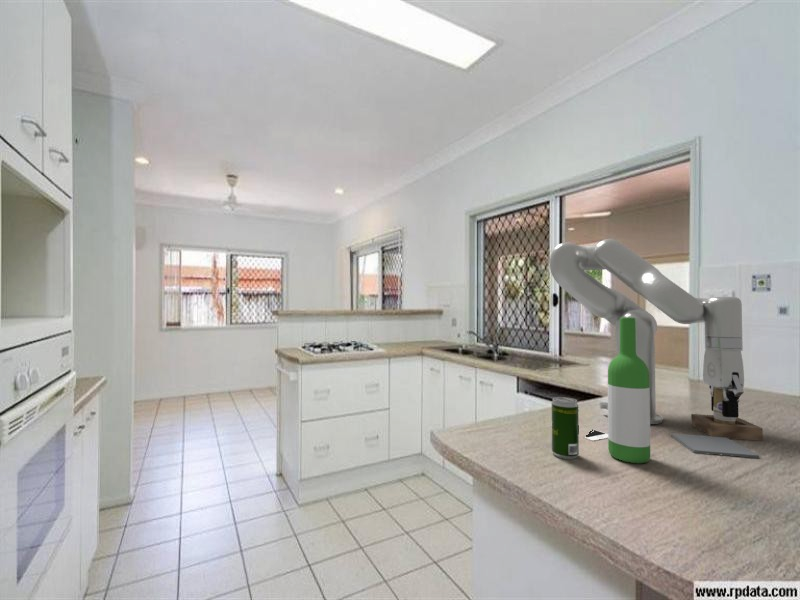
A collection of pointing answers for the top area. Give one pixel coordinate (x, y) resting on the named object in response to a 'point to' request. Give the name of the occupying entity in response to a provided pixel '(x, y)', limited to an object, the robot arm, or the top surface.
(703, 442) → the charcoal mat
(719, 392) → the sprinkles bottle
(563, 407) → the beer can
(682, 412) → the top surface
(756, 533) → the top surface
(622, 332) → the wine bottle
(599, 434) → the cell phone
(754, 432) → the walnut caddy
